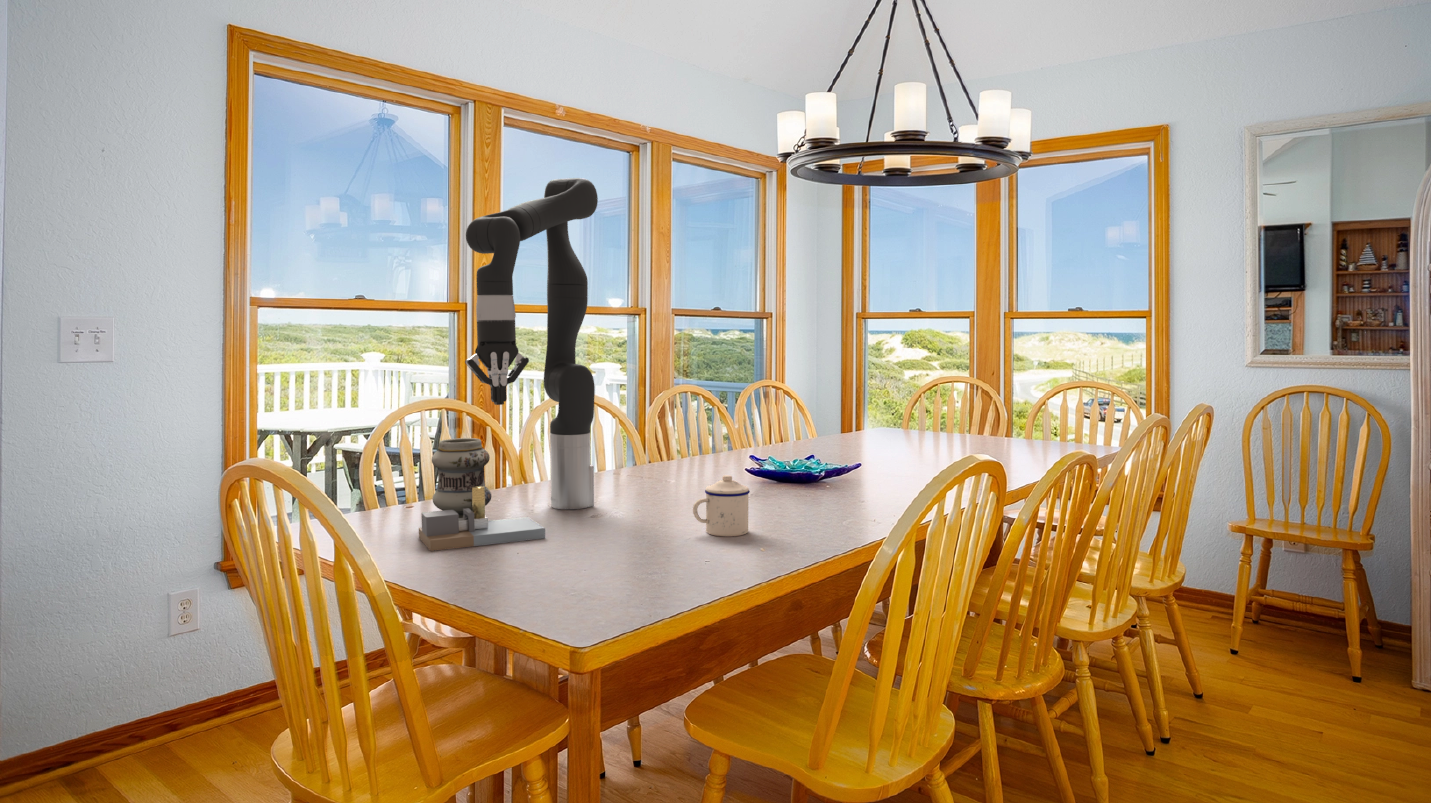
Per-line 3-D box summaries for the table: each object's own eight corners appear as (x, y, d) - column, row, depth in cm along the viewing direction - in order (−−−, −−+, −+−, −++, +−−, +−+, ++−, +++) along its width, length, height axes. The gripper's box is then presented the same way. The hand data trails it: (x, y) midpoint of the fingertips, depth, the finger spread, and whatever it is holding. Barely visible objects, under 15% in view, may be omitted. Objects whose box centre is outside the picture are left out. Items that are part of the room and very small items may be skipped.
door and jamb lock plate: (527, 526, 187) (527, 499, 187) (545, 538, 177) (544, 509, 176) (418, 537, 177) (418, 509, 177) (430, 550, 167) (429, 520, 166)
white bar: (485, 525, 178) (484, 485, 178) (488, 527, 176) (487, 487, 176) (433, 530, 174) (432, 490, 173) (436, 533, 172) (435, 492, 171)
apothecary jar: (450, 516, 197) (448, 435, 195) (501, 519, 194) (500, 437, 193) (421, 528, 185) (419, 442, 183) (475, 531, 182) (474, 444, 181)
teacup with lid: (737, 525, 188) (737, 470, 187) (757, 534, 180) (757, 477, 179) (684, 530, 184) (684, 474, 183) (702, 540, 175) (702, 481, 174)
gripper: (522, 318, 186) (525, 401, 187) (458, 318, 179) (461, 404, 181) (533, 318, 179) (536, 404, 181) (467, 318, 173) (470, 408, 174)
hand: (498, 404), depth 181 cm, fingers closed
